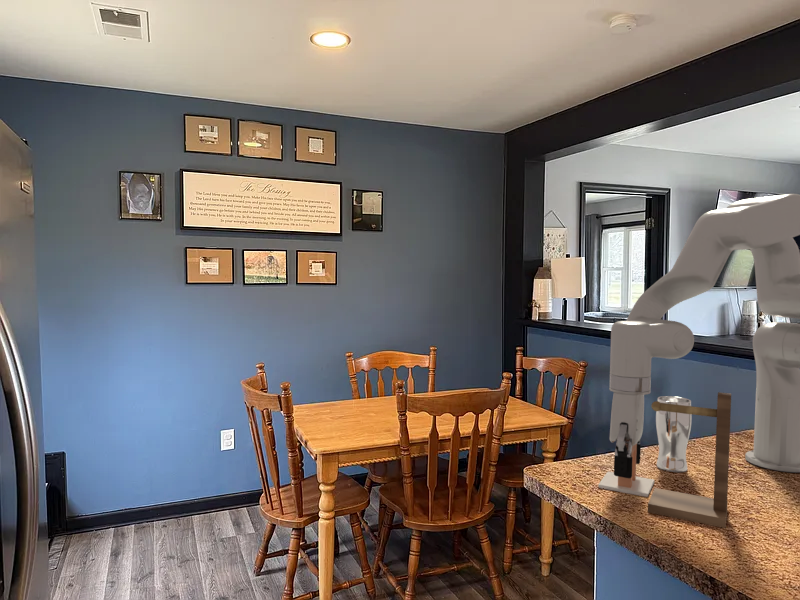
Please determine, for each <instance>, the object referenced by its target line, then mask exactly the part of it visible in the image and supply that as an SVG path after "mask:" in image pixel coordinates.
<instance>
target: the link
mask: <svg viewBox="0 0 800 600" xmlns="http://www.w3.org/2000/svg"><path fill="white" fill-rule="evenodd" d="M626 441H629V440H626ZM627 447H628V446H627ZM627 450H628V449H627ZM636 453H637V444H635V445H633V446H632V452H631V457H633V459H632V477H631V478H624V477H619V476H618V486H623V487H628V488H631V487H632V480H633V481H635V479H636V476H637V464H636Z"/></svg>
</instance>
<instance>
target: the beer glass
mask: <svg viewBox="0 0 800 600" xmlns="http://www.w3.org/2000/svg"><path fill="white" fill-rule="evenodd" d="M657 401H658V402H660V403H667V404H676V405H684V406H692V400H691V399H689V398H686V397H681V396H671V395H667V396H666V395H665V396H663V395H662V396H658V397H657ZM655 426H656V434H657V435H656V436H657V441H658V456H657V461H656V467H657V468H658V469H659V470H663V471H665V470H666V471H665V472H671V473H672V472H673V473H685V472H687V471H688V462H687V448H688V447H687V446H688V443H689V439H690V433H691V429H692V414H684V413H676V412H668V411H655Z"/></svg>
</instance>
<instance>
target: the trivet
mask: <svg viewBox="0 0 800 600" xmlns="http://www.w3.org/2000/svg"><path fill="white" fill-rule="evenodd" d="M654 484H655V479H653V478H648V477H647V478H646V477H643V476H641V477H640V476H637V475H636V479H635V481H633V480H632V487H631V488H628V487H623V486H618V476H615V475H614V471H607V472H606V473H605V475H604V476H603V477H602V479H601V481H599V483H598V485H597V486H598V487H599V489H603V488H604V489H603V490H609V491H615V492H620V493H623V494H624V493H625V494H629V495H633V496H634V495H636V496H640V497H646V498H649V495H650V494H651V491H652V489H653V486H654Z"/></svg>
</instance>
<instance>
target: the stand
mask: <svg viewBox="0 0 800 600" xmlns="http://www.w3.org/2000/svg"><path fill="white" fill-rule="evenodd" d="M716 399H717V400H716V401H717V402H716V408H708V407H700V406H699V407H698V406H692V405H691V406H684V405H676V404H667V403H660V402H658V400H654V401H653V402H652V403H651V409H652V410H653V411H654V412H656V411H668V412H676V413H684V414H692V415H693V416H702V417H709V418H710V417H711V418H716V426H715V427H716V429H715V430H716V432H715V433H716V434H715V454H714V455H715V458H714V481H713V482H714V484H713V487H714V488H713V498H712V497H707V496H700V495H696V494H690V493H687V492H686V493H684V492H681V491H680V492H679V491H675V490H674V491H673V490H669V489H664V488H660V487H659V488H658V487H654V489H653V492H652V493H651V495H650V498H649V500H648V503H647V513H651V514H654V515H659V516H665V517H671V518H675V519H680V520H685V521H689V522H695V523H700V524H704V525H709V526H714V527H720V528H724V529H726V527H727V517H728V516H727V515H728V495H729V494H728V491H729V489H728V488H729V467H730V466H729V465H730V464H729V463H730V461H729V460H730V437H731V411H732V393H731V392H728V393H727V392H720V391H719V392H717V398H716Z"/></svg>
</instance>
